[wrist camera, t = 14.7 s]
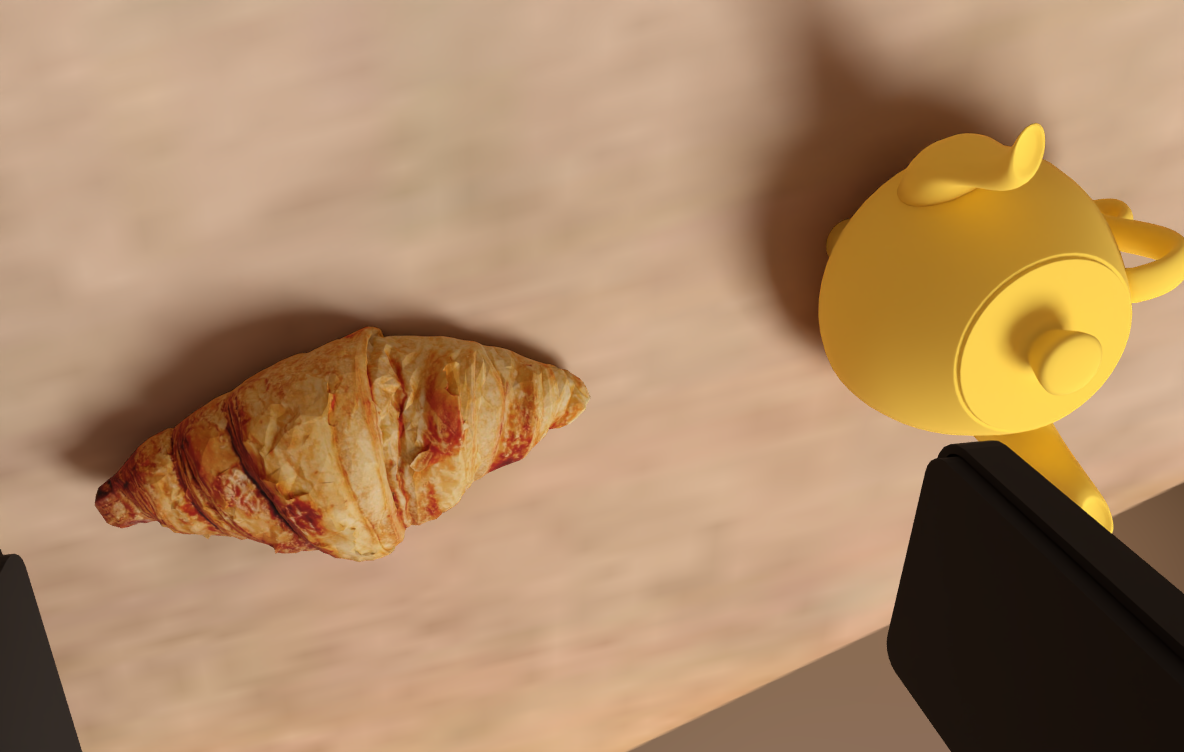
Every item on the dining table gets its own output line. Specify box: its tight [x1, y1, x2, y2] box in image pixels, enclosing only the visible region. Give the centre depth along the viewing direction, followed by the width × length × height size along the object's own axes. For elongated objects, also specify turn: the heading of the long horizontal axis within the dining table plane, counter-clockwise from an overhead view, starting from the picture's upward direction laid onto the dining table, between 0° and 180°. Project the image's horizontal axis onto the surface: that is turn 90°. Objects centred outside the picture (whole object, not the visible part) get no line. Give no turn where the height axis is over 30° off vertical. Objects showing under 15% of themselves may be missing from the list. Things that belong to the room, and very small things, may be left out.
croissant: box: [95, 326, 590, 562], centre depth 40 cm, size 21×10×8 cm, turn 98°
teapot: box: [818, 123, 1184, 533], centre depth 40 cm, size 20×15×12 cm
